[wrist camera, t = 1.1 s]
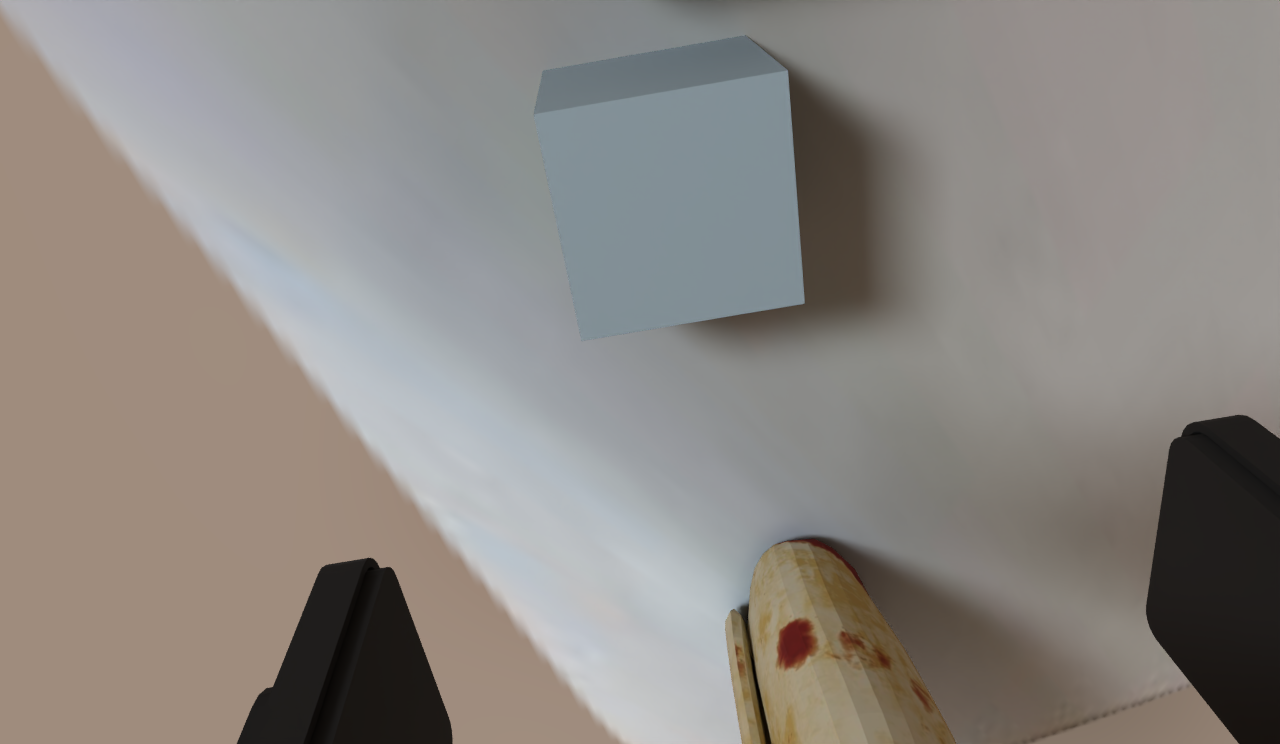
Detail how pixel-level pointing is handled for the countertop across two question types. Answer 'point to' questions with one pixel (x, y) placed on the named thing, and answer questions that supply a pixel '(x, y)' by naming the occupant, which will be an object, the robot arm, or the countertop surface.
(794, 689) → the food model
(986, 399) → the countertop surface
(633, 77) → the slate cube
